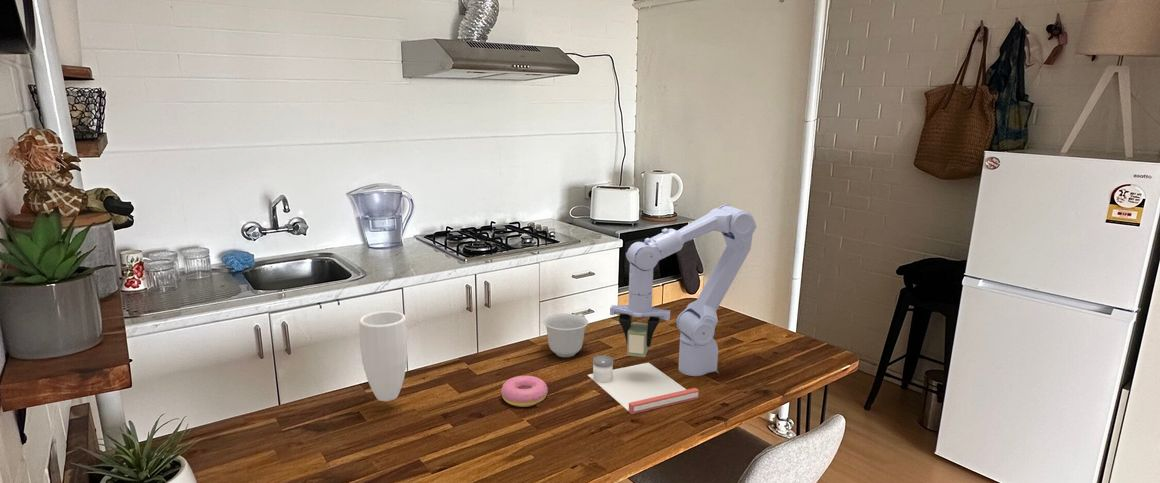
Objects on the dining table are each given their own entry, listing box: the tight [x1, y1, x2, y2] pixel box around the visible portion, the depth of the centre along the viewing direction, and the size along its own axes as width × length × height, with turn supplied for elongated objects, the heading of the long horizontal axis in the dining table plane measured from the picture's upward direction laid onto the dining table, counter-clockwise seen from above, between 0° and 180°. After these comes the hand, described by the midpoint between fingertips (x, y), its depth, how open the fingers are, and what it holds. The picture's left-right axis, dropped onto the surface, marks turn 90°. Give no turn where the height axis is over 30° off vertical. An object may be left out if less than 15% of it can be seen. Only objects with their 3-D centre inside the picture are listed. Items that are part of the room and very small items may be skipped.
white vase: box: [358, 310, 408, 402], centre depth 143 cm, size 10×10×22 cm
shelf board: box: [587, 362, 700, 415], centre depth 156 cm, size 18×22×3 cm
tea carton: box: [626, 321, 650, 358], centre depth 159 cm, size 7×4×6 cm, turn 165°
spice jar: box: [592, 354, 614, 383], centre depth 159 cm, size 5×5×5 cm
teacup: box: [543, 313, 589, 358], centre depth 175 cm, size 12×15×10 cm
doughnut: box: [500, 375, 549, 408], centre depth 151 cm, size 11×11×4 cm
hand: (638, 344), depth 159 cm, fingers closed on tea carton, 4 cm apart
